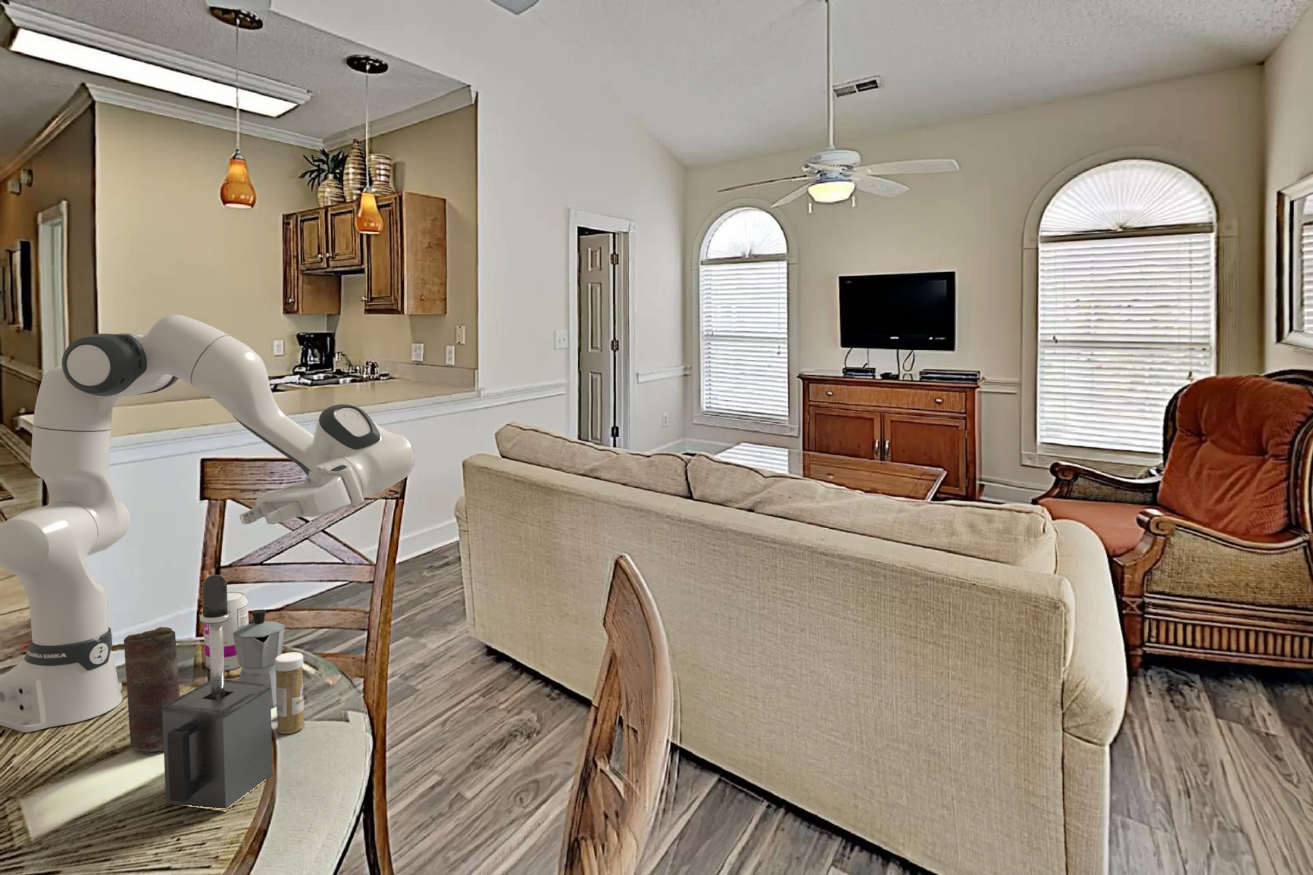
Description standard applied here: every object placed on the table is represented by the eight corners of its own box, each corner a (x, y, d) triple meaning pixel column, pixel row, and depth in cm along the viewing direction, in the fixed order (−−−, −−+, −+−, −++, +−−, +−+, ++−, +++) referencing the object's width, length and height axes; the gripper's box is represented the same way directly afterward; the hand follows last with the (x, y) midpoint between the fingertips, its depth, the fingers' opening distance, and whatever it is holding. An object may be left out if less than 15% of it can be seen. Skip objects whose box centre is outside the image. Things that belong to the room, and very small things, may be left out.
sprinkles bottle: (306, 730, 132) (305, 658, 131) (278, 737, 130) (276, 663, 128) (302, 720, 136) (301, 649, 135) (274, 726, 133) (272, 654, 132)
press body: (147, 816, 107) (143, 716, 105) (216, 767, 119) (213, 678, 118) (209, 825, 105) (205, 724, 103) (272, 775, 118) (270, 684, 116)
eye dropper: (176, 725, 110) (171, 580, 107) (215, 702, 117) (211, 566, 115) (222, 730, 108) (217, 584, 106) (258, 707, 116) (254, 570, 114)
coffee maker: (291, 709, 140) (289, 616, 138) (238, 720, 135) (235, 624, 133) (280, 680, 152) (278, 595, 151) (230, 690, 147) (228, 601, 146)
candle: (125, 760, 121) (119, 642, 119) (132, 740, 127) (127, 627, 125) (180, 750, 124) (176, 635, 123) (185, 731, 131) (181, 621, 129)
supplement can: (218, 675, 154) (216, 605, 152) (197, 666, 158) (195, 597, 157) (257, 662, 161) (255, 595, 159) (236, 654, 165) (234, 588, 164)
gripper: (297, 472, 135) (220, 503, 125) (355, 466, 122) (275, 500, 112) (310, 503, 137) (235, 537, 126) (369, 501, 124) (291, 538, 113)
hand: (254, 520), depth 119 cm, fingers open, 8 cm apart
